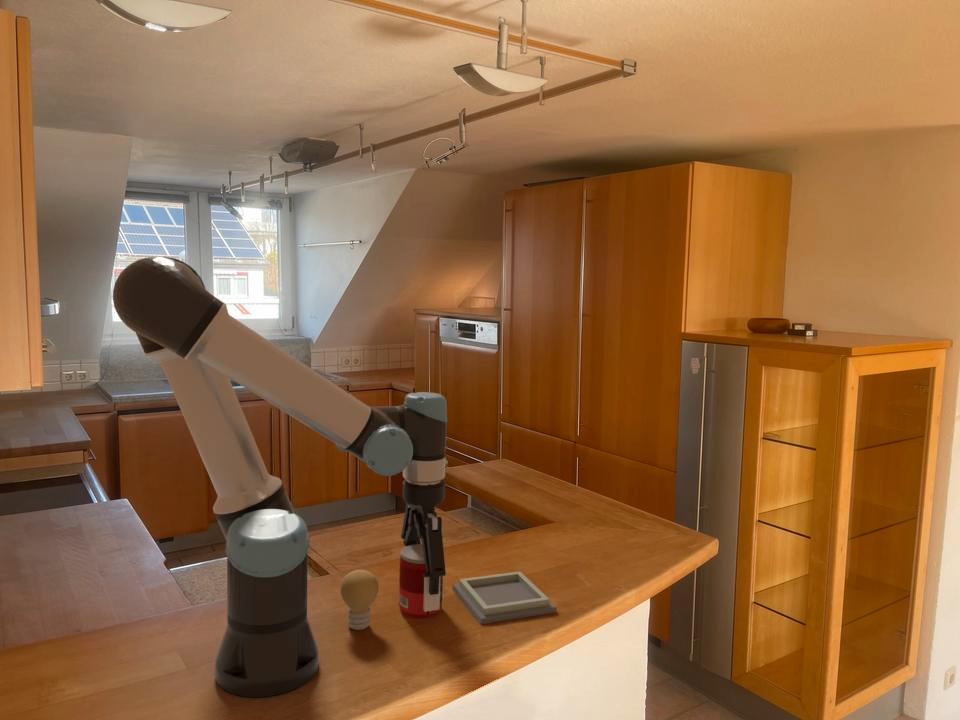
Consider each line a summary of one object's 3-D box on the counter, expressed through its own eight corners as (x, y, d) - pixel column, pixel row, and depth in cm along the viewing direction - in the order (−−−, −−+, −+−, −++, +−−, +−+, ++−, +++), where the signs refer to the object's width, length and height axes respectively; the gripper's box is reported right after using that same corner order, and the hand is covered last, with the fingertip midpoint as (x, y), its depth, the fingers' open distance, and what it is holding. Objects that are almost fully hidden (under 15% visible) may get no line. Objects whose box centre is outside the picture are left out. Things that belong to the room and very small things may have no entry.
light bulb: (363, 614, 129) (364, 560, 127) (384, 627, 124) (386, 572, 123) (332, 625, 124) (333, 570, 123) (354, 639, 120) (355, 582, 118)
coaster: (480, 624, 127) (481, 612, 126) (452, 588, 140) (452, 577, 140) (556, 612, 132) (556, 600, 132) (521, 579, 146) (522, 568, 146)
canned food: (436, 622, 127) (437, 562, 125) (392, 616, 128) (394, 557, 127) (446, 603, 134) (448, 546, 133) (405, 597, 136) (407, 541, 134)
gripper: (467, 497, 119) (463, 621, 121) (424, 460, 141) (421, 566, 143) (424, 501, 116) (420, 628, 118) (386, 463, 138) (384, 570, 141)
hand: (420, 594), depth 131 cm, fingers open, 12 cm apart
